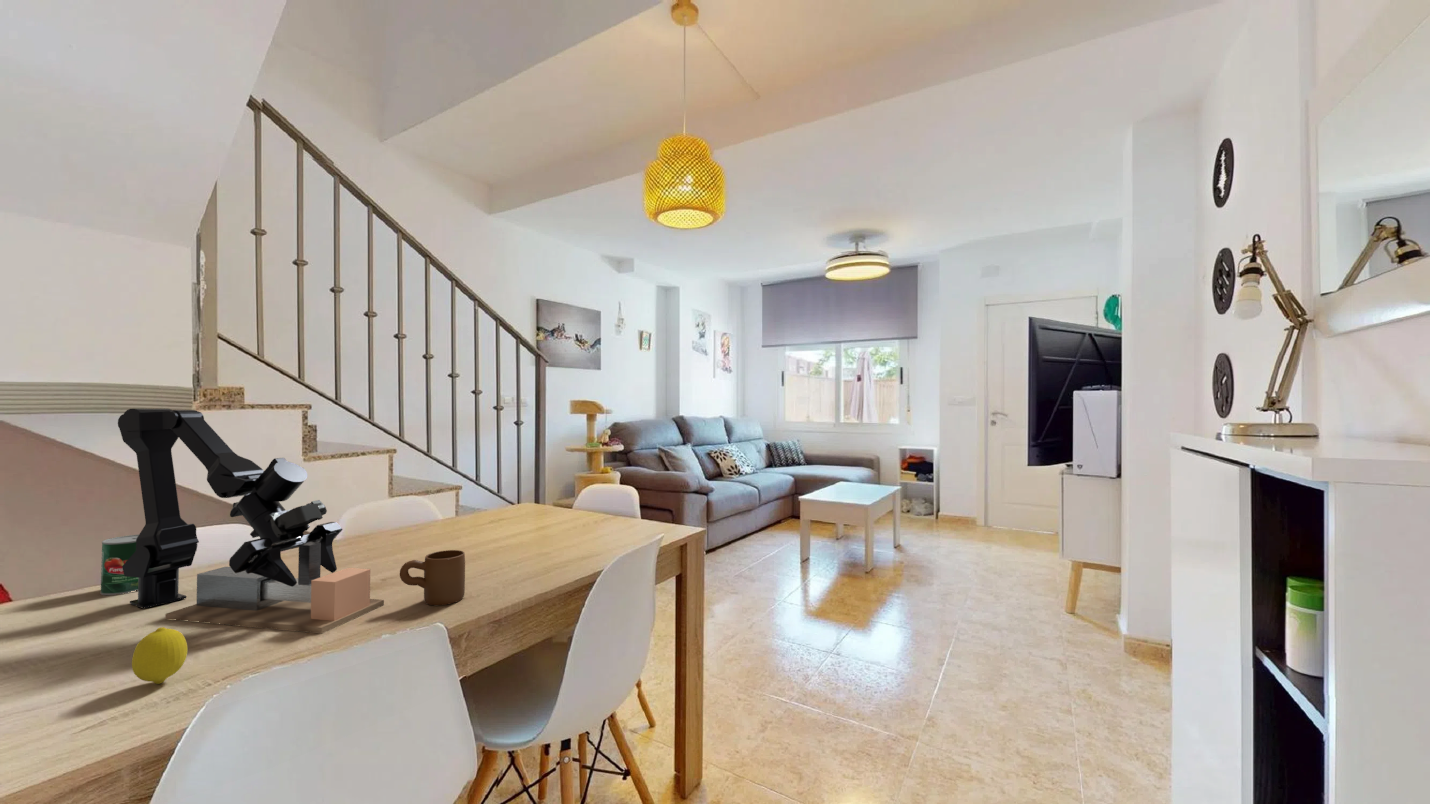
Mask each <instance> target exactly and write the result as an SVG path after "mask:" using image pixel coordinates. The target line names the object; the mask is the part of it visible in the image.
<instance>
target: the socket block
mask: <svg viewBox="0 0 1430 804" xmlns="http://www.w3.org/2000/svg"><path fill="white" fill-rule="evenodd" d="M370 599H371V569H369V568H358V567H347V568H343V569H340V570H338V571H335V572H334V573H329V574H326V575H323V576H320V578H317V579H314V580H311V619H319V620H330V621H335V620H337V619H340V618H342V617H344V616H346V615H349V614H351V613H353V612H355V611H358V610H360V609H362V608H364V607H367V606H369V605H370Z"/></svg>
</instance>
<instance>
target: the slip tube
mask: <svg viewBox="0 0 1430 804" xmlns="http://www.w3.org/2000/svg"><path fill="white" fill-rule="evenodd" d="M321 568H322V566H321V543H320V542H308V543H304V544H301V545H299V547H298V571H297V573H298V574H297V575H298V577H295V579H296V581H297V584H296V585H295V586H293V587H291V586H289V585H286V584H283V583H281V582H278V581H276V580H273V579H270V578H268V579H264V580H261V581H260V599H270V600H282V601H295V602H307V603H311V580H314V579H317V578H320V577H321Z"/></svg>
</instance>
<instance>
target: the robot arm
mask: <svg viewBox="0 0 1430 804" xmlns="http://www.w3.org/2000/svg"><path fill="white" fill-rule="evenodd" d="M117 426H118V429H119V432H120V436H121V439H122V441H123V443H125V444H126V446H128V447H129V448H130V449H131V450H132V451H133V452H134V453H135V454H136V455H135V456H136V461H137V468H138V475H139V483H140V491H141V499H142V504H143V505H142V506H143V511H144V512H143V513H144V518H145V519H144V521H145V523H144V526H143V528H142V529H141V531H140V533H139V534H138V535H139V536H138V537H137V539H136V551H135V552H134V553H133V555H132V556H131V557H130V558H129V559H128V560H127V561H126V563H125V564H124V565H123V566H122V568H123V572H124V576H126V577H138V591H137V599H134V600H129V604H130V605H133V606H136V607H138V608H141V609H147V608H151V606H152V607H156V606H159V604H160V605H163V604H168V603H172V602H177V601H181V600H184V598H185V599H187V595H185V594H181V593H180V592H179V582H180V581H179V579H180V569H181V568H185V567H191V566H192V564H193V561H194V558H195V555H196V552H197V551H198V544H199V543H200V541H199V539H198V535H197V526H196V524H194V523H190V524H189V523H187V522H186V521H185V520H184V519H183V518H182V516H181V510H180V503H179V497H178V490H177V481H176V475H175V468H174V460H173V453H172V449H173V447H174V446H175V444H176V443H177V441H178V439H179V440H180V441H181V442H182V443H183V444H184V445H185V446H186V448H188V450H190V452H191V454H193V455H194V456H195V457H196V458H197V459H198V460H199V462H201V464H202V465H203V466H204V467H205V469H206V470H207V475H206V481H207V483H208V485H209V487H211V489H212V491H213V492H214V494H215V495H216V496H217V497H218V498H221V499H231V498H236V497H241V499H240V500H239V501H236V502H233V503H232V508H231V510H230V512H229V517H231V518H234V517H235V518H236V517H240V516H242V517H243V518H244V519H245V520H246V522H247V523H248V524H249V526H250V527H251V528H252V531H251V532H250V533H249V535H250V536H251V538H252V540H248V541H245V542H243V543H242V545H241V546H239V548H238V549H237V550H236V551H235V552H234V554H232V555H231V557H230V558H229V560H228V561H229V562H228V565H229V566H228V567H231V569H232V570H233V571H234V572H235V573H239V572H242V571H246V573H247V574H249V573H254V574H257V575H261V576H264V577H267V578H270V579H273V580H276V581H278V582H281V583H283V584H286V585H289V586H291V587H293V586H295V585H296V584H297V581H296V579H295V578H296V577H295V576H294V574H293V572H292V571H291V569H289V567H288V566H287V565H286V563H285V561H284V560H283V559H282V556H281V555H282V553H281V552H285V551H288V550H292V549H295V548H299V545H301V544H304V543H308V542H320V543H321V567H323V568H324V569H325V570H327V571H328V572H329V573H330V574H332V573H335V572H337V570H338V568H337V564H336V559H335V554H334V550H333V542H334V540H335V539H336V538H337V537H338V535H339V534H340V533H341V532H342V531H343V528H342V527H341V525H340V524H339V523H338V522H337V521H328V522H325V523H321V524H316V526H315V527H313V529H312V530H311V531H310V532H309V533H308V534H304V532H306V531H308V530H309V528H310V527H311V526H310V524H312V523H314V522H315V521H320V520H322V519H323V516H324V515H326V514H327V512H328V510H327V508H326V505H325V504H324V502H322V501H321V500H320V499H317V500H313V501H311V502H309V503H308V502H307V503H306V504H305V505H299V506H297V507H293V508H291V509H287V510H286V509H285V508H284V506H283V504H282V503H280V502H286V501H287V500H288V499H290V498H291V496H293V495H294V493H295V492H296V491H297V490H298V489H299V488H300V487H301V485H302V484H303V483H304V482H306V480H307V478H308V472H307V470H306V469H305V468H304V467H302V466H300V465H299V464H297V463H294V462H291V461H287V459H286V458H285V457H277V458H276V457H275V458H273V459H271V461H270V463H269V465H268V466H267V467H266V468H265V469H263V468H262V467H261V466H260V465H258V464H257V463H256V462H254V461H253V460H251V459H248V458H245V457H243V456H240V455H238V454H237V453H235V452H234V451H233V449H231V448H230V447H229V445H228V444H227V443H226V442H225V441H224V439H222V437H220V436H219V435H218V433H217V432H216V431H215V430H214V429H213V428H212V427H211V426H210V424H209V423H208V422H207V421H206V420H205V417H204V415H203V413H202V412H201V411H199V410H198V411H197V410H195V409H171V408H129V409H126V411H125V412H124V413H123V414H121V415H120V416H119V417H118V419H117ZM255 538H257V539H255ZM155 605H156V606H155Z"/></svg>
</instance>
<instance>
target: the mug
mask: <svg viewBox="0 0 1430 804" xmlns="http://www.w3.org/2000/svg"><path fill="white" fill-rule="evenodd" d="M465 555H466V554H465V551H463V550H457V549H455V550H454V549H449V550H448V549H447V550H439V551H433V552H431V553H428V554H426V556H425V557H424V561H423V560H417V559H413V560H409V561H407V562H404V564H402V566H401V567H400V570H399V578H400V579H401V582H403V584H405V585H408V586H418V587H420V588H422V589H423V600H424V601H423V602H425V604H426V605H428V606H434V605H439V606H446V605H447V604H448V605H451V604H452V605H453V604H455V603H458V602H459V601H462V599H463V598H464V597H465V591H466V586H465V585H466V584H465V583H466V557H465ZM410 569H417V570H422V571H423V576H411V575H410V573H409V570H410Z"/></svg>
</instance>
